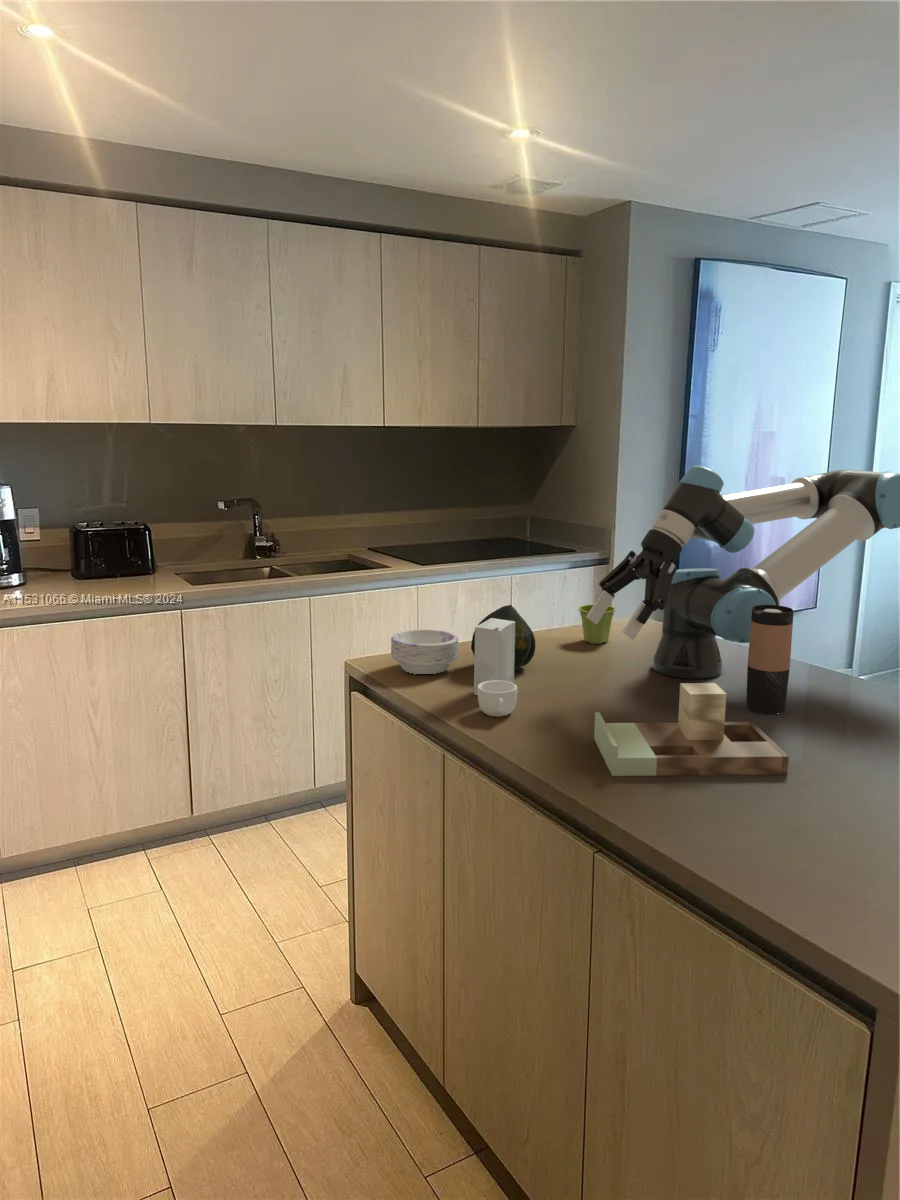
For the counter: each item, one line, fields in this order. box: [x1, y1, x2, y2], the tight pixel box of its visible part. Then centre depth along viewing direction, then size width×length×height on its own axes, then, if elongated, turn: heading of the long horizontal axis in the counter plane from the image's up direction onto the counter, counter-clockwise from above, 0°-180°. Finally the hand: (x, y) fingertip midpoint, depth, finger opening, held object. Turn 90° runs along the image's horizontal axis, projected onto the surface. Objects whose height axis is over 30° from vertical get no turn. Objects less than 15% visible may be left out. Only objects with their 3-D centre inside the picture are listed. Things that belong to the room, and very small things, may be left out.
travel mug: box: [745, 605, 794, 715], centre depth 166 cm, size 8×8×20 cm
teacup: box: [477, 680, 518, 718], centre depth 164 cm, size 10×8×5 cm
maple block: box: [677, 682, 727, 740], centre depth 145 cm, size 6×6×8 cm
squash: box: [470, 604, 536, 672], centre depth 195 cm, size 14×15×15 cm
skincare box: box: [473, 618, 515, 696], centre depth 177 cm, size 8×6×15 cm
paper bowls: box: [390, 628, 459, 675], centre depth 194 cm, size 15×15×8 cm
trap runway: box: [634, 721, 790, 776], centre depth 144 cm, size 21×16×3 cm
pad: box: [593, 711, 657, 777], centre depth 144 cm, size 7×16×5 cm, turn 1°
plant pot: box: [577, 604, 616, 645], centre depth 218 cm, size 9×9×9 cm
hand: (608, 628), depth 169 cm, fingers open, 13 cm apart
